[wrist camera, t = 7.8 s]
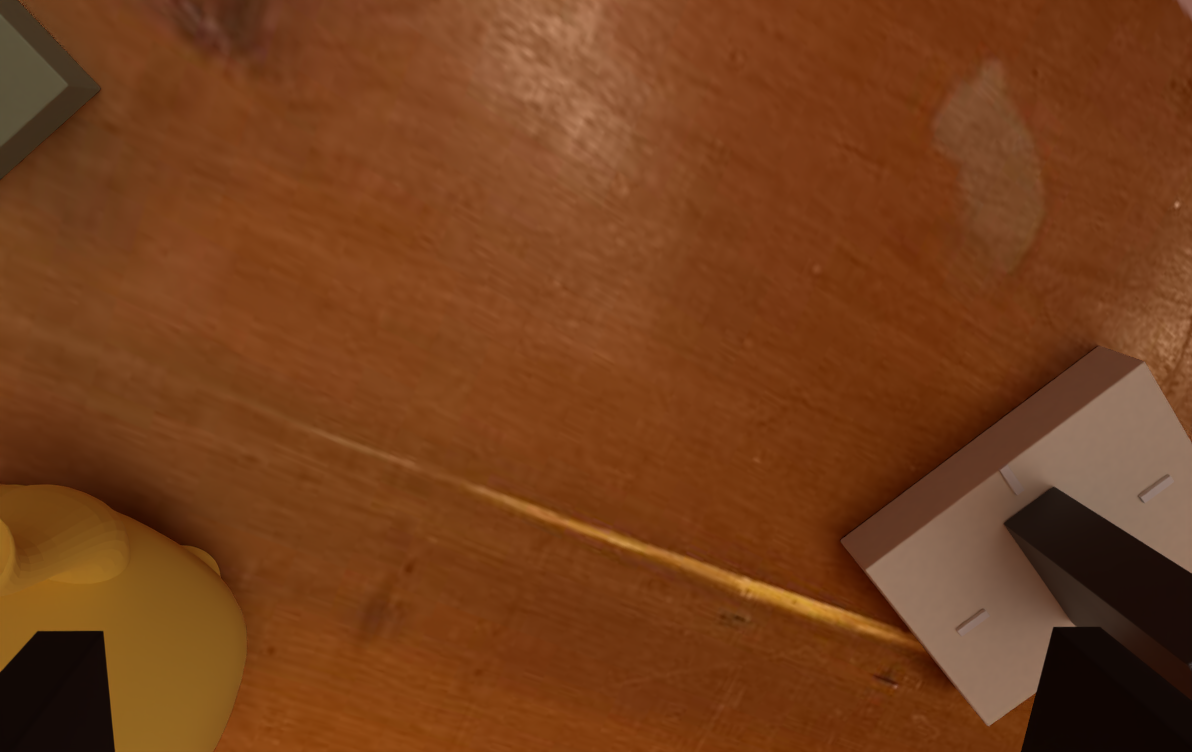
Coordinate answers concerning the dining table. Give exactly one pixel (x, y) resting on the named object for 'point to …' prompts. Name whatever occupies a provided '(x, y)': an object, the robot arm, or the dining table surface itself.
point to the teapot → (124, 613)
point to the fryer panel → (1003, 488)
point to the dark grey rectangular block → (1111, 582)
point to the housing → (34, 85)
